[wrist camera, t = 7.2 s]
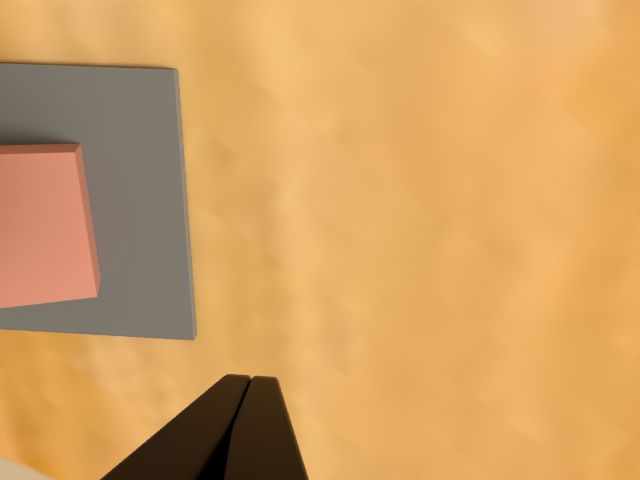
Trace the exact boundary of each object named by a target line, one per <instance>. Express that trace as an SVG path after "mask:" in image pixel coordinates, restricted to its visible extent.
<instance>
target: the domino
mask: <svg viewBox="0 0 640 480" xmlns="http://www.w3.org/2000/svg"><path fill="white" fill-rule="evenodd" d="M100 280H101V275H100V268H99V262H98V255H97V248H96V242H95V235H94V228H93V222H92V215H91V208H90V202H89V195H88V188H87V182H86V175H85V168H84V162H83V155H82V149H81V144H40V145H0V308H7V307H16V306H24V305H33V304H41V303H50V302H58V301H67V300H75V299H84V298H92V297H97V295H98V290H99V285H100Z"/></svg>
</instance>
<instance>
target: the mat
mask: <svg viewBox="0 0 640 480" xmlns="http://www.w3.org/2000/svg"><path fill="white" fill-rule="evenodd" d="M40 144H81V149H82V155H83V162H84V168H85V175H86V182H87V188H88V195H89V202H90V208H91V215H92V222H93V228H94V235H95V242H96V248H97V255H98V262H99V268H100V275H101V280H100V285H99V290H98V295H97V297H92V298H84V299H75V300H67V301H58V302H50V303H41V304H33V305H24V306H16V307H7V308H0V329H7V330H24V331H42V332H59V333H76V334H94V335H111V336H128V337H145V338H163V339H180V340H194V339H195V337H196V335H197V331H196V317H195V303H194V289H193V275H192V261H191V247H190V233H189V219H188V205H187V191H186V177H185V163H184V149H183V135H182V121H181V107H180V93H179V79H178V69H153V68H125V67H98V66H70V65H42V64H15V63H0V145H40Z"/></svg>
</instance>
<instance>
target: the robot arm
mask: <svg viewBox="0 0 640 480" xmlns="http://www.w3.org/2000/svg"><path fill="white" fill-rule="evenodd" d="M100 480H309V479H308V475H307V472H306V469H305V466H304V463H303V459H302V456H301V453H300V450H299V446H298V443H297V440H296V437H295V433H294V430H293V427H292V424H291V420H290V417H289V414H288V411H287V407H286V404H285V401H284V398H283V394H282V391H281V388H280V385H279V381H278V379H277V378H276V377H269V376H254V377H253V378H252V379H251V377H250V376H249V375H237V374H227V375H225V376H224V377H222V378H221V379H220V380H219V381H218V382H216V383H215V384H214V385H213V386H212V387H210V388H209V389H208V390H207V391H206V392H204V393H203V394H202V395H201V396H200V397H198V398H197V399H196V400H195V401H194V402H192V403H191V404H190V405H189V406H188V407H186V408H185V409H184V410H183V411H182V412H180V413H179V414H178V415H177V416H176V417H174V418H173V419H172V420H171V421H170V422H168V423H167V424H166V425H165V426H164V427H162V428H161V429H160V430H159V431H158V432H157V433H155V434H154V435H153V436H152V437H151V438H149V439H148V440H147V441H146V442H145V443H143V444H142V445H141V446H140V447H139V448H137V449H136V450H135V451H134V452H133V453H131V454H130V455H129V456H128V457H127V458H125V459H124V460H123V461H122V462H121V463H119V464H118V465H117V466H116V467H115V468H113V469H112V470H111V471H110V472H109V473H107V474H106V475H105V476H104V477H103V478H101V479H100Z"/></svg>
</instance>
